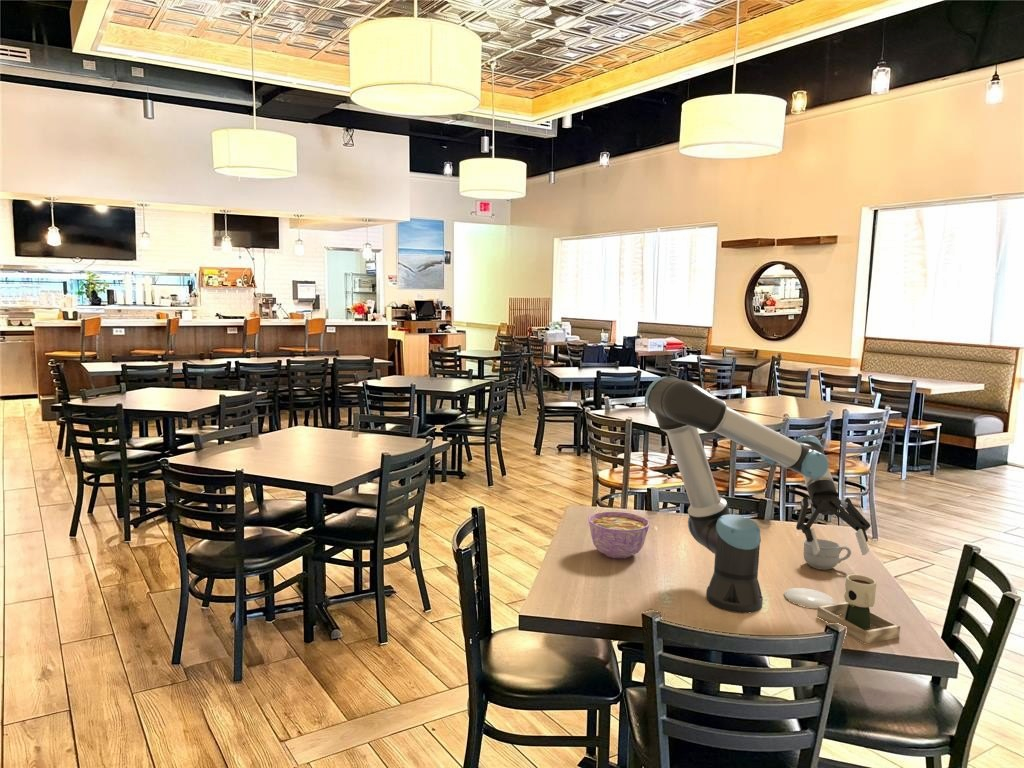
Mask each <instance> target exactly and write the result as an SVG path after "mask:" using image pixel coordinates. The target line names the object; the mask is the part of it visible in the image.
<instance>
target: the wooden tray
mask: <svg viewBox="0 0 1024 768" xmlns="http://www.w3.org/2000/svg"><path fill="white" fill-rule="evenodd" d="M848 604H849V603H847V602H846V601H844V602H839V603H838V602H837V603H834V604H832V605H826V606H820V607H818V609H817V611H816V612H817V613H816V617H819V618H821V619H823V620H824V621H827V622H828V623H839V624H841V625H843V626H846V627H847V634H846V635H847V636H850V637H851V638H853V639H855V640H856V639H857V640H856V641H858V640H859V642H860V641H861V642H860V643H862V642H863V643H868V644H872V643H871V642H873V643H877V642H876V641H878V642H882V641H887V640H888V641H889V640H892V639H898V638H900V633H901V625H899V624H897V623H895V622H894V621H891V620H889V619H887V618H886V617H883V616H881V615H880V614H877V613H875V612H873V611H871V610H870V626H871V625H872V626H874V627H875V628H873V629H865V630H863V629H861V628H859V627H858V626H856V625H854V624H852V623H850V622H848V621H846V620H845V618H843V617H841V615H840V614H844V615H846V611H847V607H848ZM837 615H838V616H837ZM819 618H818V619H819ZM821 619H820V620H821ZM824 621H823V622H824ZM828 623H827V624H828ZM863 643H862V644H863Z"/></svg>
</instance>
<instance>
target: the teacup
mask: <svg viewBox="0 0 1024 768" xmlns="http://www.w3.org/2000/svg"><path fill="white" fill-rule="evenodd" d="M817 541H818V544H819V548H820V551H819V552H818V553H817V554H813V550H812V547H811V543H810V542H808V541H807V539H806V538H805V539H804V540H803V559H804V561H805V562H806V564H808V565H809V566H810V567H811V568H814V569H818V570H824V571H825V570H831V569H833V568H835V567H836V566H837V565H838V564H840V563H842V562H843V561H845V560H847V559H849V558H850V557H851V555H852V550H851V549H850V547H848V546H847V545H840V543H838V542H835V541H832V540H828V539H822V538H817ZM843 550H846V551H847V554H845V555H844V556H843V557H840V554H841V553H842V551H843Z"/></svg>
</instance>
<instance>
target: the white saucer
mask: <svg viewBox="0 0 1024 768" xmlns="http://www.w3.org/2000/svg"><path fill="white" fill-rule="evenodd" d="M784 595H785V596H784ZM783 596H784V598H785V597H786V598H787V599H788V600H790V601H791V602H794V603H795V604H794V603H793V604H794V605H796V604H799V605H802V606H805V607H804V608H806V607H809V608H808V609H813V608H816V609H815V610H818V607H820V606H826V605H832V604H835V601H834V599H833V598H832V597H831V596H830V595H828V594H827V593H825V592H822V591H820V590H816V589H813V588H808V587H807V588H805V587H792V588H788V589H786V590H785V591H784V594H783ZM786 598H785V599H786ZM787 599H786V600H787ZM788 600H787V601H788ZM790 601H789V602H790ZM791 602H790V603H791ZM799 605H798V606H799ZM802 606H801V607H802Z"/></svg>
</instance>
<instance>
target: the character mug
mask: <svg viewBox="0 0 1024 768" xmlns="http://www.w3.org/2000/svg"><path fill="white" fill-rule="evenodd" d="M844 586H845V593H844V595H843V597H844V602H847V603H849V604H848V607H847V611H846V614H844V615H845V617H844V619H845V620H846V621H848V622H850V623H852V624H854V625H856V626H858V627H859V628H861V629H863V630H865V631H866V630H871V624H870V611H871V608H872V607H874V605H875V603H876V592H877V591H876V590H877V581H876V580H875V579H874V578H873V577H871V576H870V577H869V576H866V575H863V574H853V573H852V574H848V575H846V577H845V585H844Z"/></svg>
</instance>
